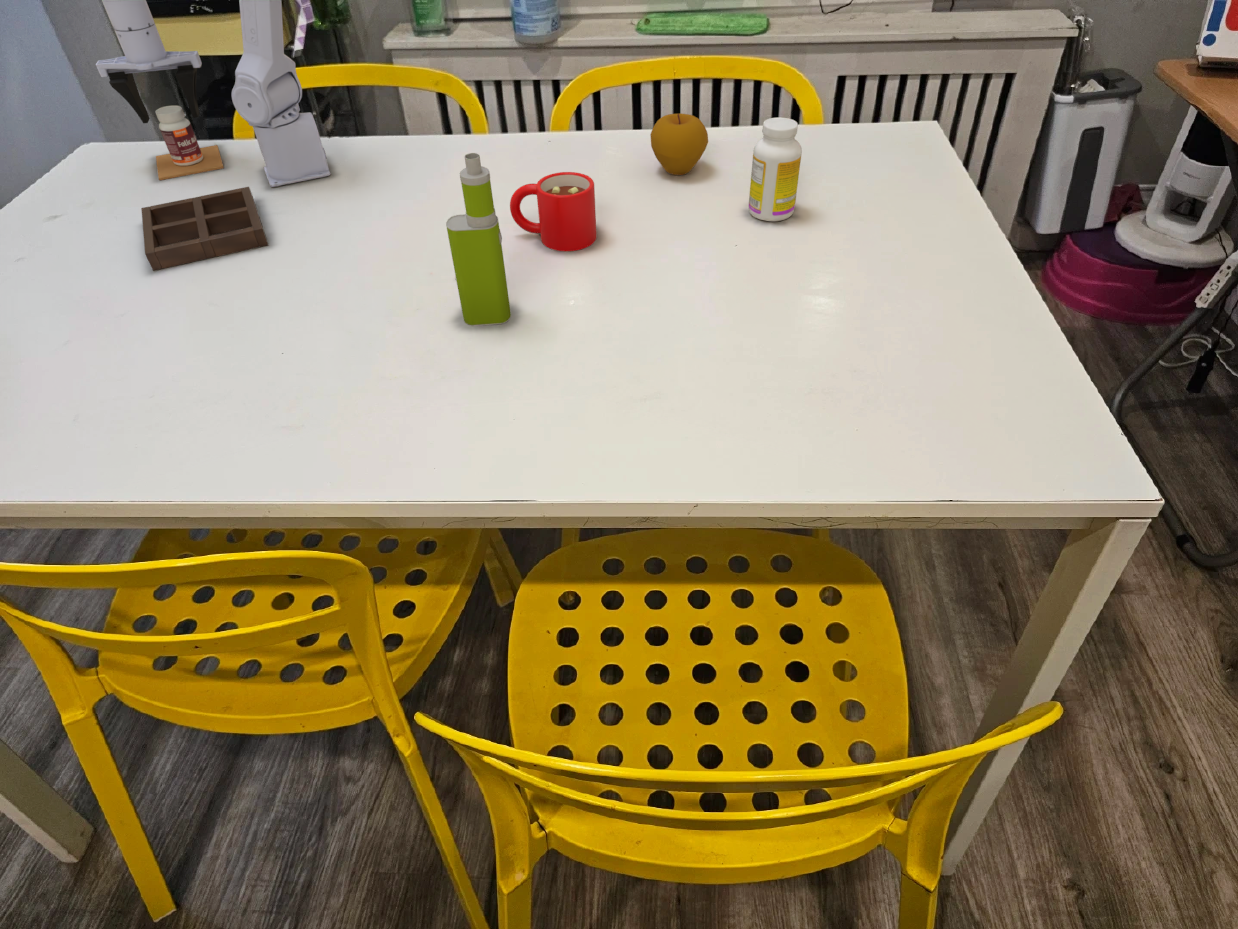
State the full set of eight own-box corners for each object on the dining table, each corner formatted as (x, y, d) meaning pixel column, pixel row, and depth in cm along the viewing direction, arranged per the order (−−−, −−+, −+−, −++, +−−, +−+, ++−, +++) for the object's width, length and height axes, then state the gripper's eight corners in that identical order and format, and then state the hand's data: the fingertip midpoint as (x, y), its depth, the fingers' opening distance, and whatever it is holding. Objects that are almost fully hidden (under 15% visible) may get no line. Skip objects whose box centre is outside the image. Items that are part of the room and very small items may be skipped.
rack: (254, 202, 122) (248, 186, 121) (268, 245, 112) (262, 228, 111) (148, 224, 118) (141, 207, 116) (153, 270, 108) (144, 253, 106)
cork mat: (218, 146, 139) (217, 144, 138) (223, 168, 132) (223, 165, 132) (156, 158, 136) (155, 155, 135) (159, 180, 129) (158, 178, 129)
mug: (518, 223, 116) (511, 170, 110) (599, 224, 115) (597, 171, 109) (507, 249, 110) (500, 195, 105) (593, 251, 109) (590, 197, 104)
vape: (512, 323, 97) (490, 161, 83) (462, 326, 96) (432, 165, 83) (512, 306, 99) (491, 147, 86) (464, 309, 99) (435, 151, 85)
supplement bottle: (798, 206, 117) (811, 118, 108) (786, 226, 113) (798, 135, 104) (755, 199, 119) (764, 111, 111) (741, 218, 115) (749, 128, 106)
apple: (703, 158, 131) (706, 102, 124) (709, 182, 124) (713, 123, 118) (648, 160, 130) (648, 104, 124) (652, 184, 124) (652, 125, 118)
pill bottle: (189, 168, 131) (168, 116, 125) (167, 164, 133) (145, 112, 127) (210, 157, 134) (190, 105, 129) (188, 153, 136) (168, 102, 130)
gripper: (76, 38, 115) (119, 132, 125) (181, 28, 118) (216, 121, 127) (86, 24, 120) (127, 116, 130) (188, 15, 123) (220, 106, 132)
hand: (171, 118), depth 129 cm, fingers open, 7 cm apart
